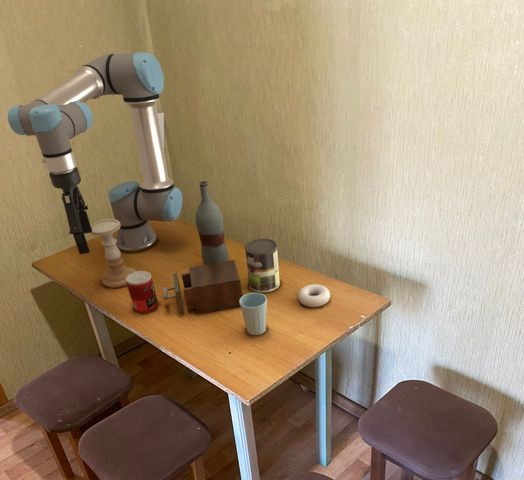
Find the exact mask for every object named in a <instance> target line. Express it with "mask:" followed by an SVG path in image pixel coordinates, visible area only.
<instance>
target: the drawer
mask: <svg viewBox="0 0 524 480" xmlns="http://www.w3.org/2000/svg"><path fill="white" fill-rule="evenodd" d="M172 274H173V275H172V276H173V283H174V284H173V285H174V286H171V287H166V286H164V287H162V298H163V300H164V301H165V302H167V301H168V300H169V299H174V298H176V302H177V306H178V311H179V314H183V313H185V312H184V304H183V295H184V300H185V305H186V310H187V311H189V310H190V311H191V310H196V305H195V300H194V295H193V290H192V285H191V278H190V272H185V273H181V275H180V276H181V279H182V282H183V283H182V284H183V289H182V290H183V294H182V290H181V284H180V280H179V276H178V273H177V272H174V273H172ZM173 290H174V293H175V294H172V295H169V293H168V291H173Z"/></svg>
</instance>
